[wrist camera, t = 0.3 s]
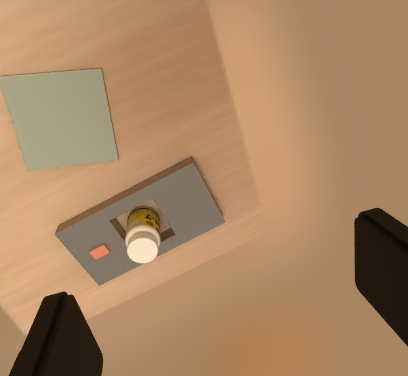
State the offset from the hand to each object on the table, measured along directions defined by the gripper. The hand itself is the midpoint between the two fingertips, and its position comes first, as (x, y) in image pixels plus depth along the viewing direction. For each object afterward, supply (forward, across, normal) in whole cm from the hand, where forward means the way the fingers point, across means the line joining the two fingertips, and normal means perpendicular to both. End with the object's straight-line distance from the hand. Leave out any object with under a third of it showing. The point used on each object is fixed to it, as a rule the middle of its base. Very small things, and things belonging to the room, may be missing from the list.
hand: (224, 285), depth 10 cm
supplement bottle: (+36, +8, +15) cm, 40 cm away
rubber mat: (+36, +13, -2) cm, 38 cm away
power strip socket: (+36, +8, +15) cm, 40 cm away
